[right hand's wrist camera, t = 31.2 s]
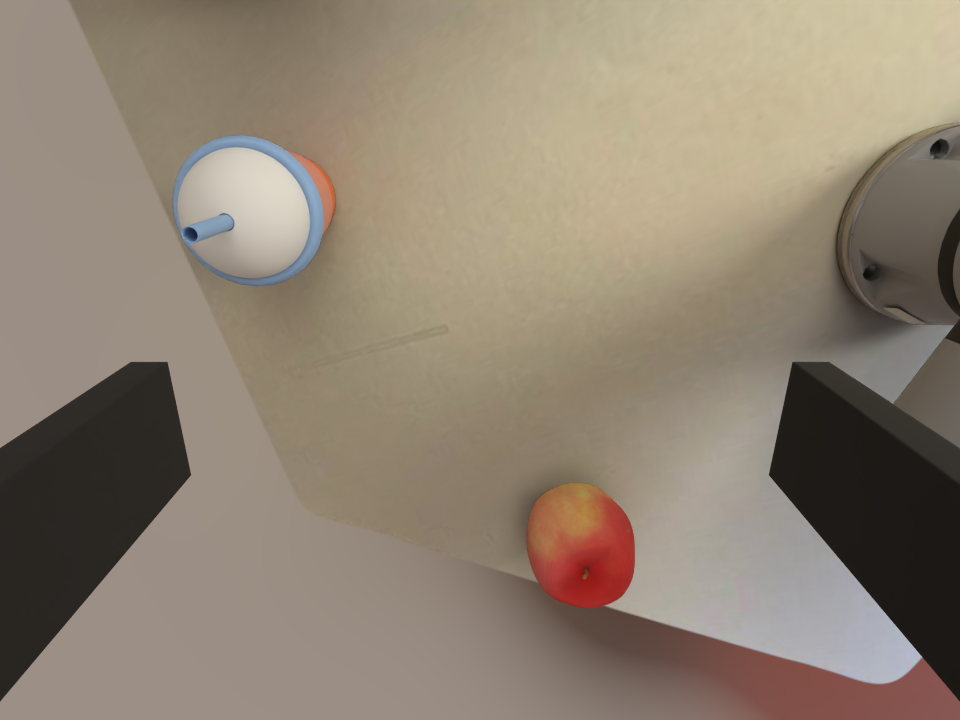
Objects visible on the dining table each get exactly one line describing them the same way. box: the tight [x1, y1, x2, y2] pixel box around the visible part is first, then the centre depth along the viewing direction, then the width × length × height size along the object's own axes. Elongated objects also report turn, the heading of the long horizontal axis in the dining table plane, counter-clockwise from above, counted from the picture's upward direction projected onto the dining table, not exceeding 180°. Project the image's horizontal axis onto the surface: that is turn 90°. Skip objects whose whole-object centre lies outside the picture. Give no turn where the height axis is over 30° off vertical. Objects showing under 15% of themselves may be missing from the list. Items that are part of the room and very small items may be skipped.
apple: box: [527, 483, 635, 608], centre depth 51 cm, size 10×10×10 cm
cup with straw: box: [173, 135, 336, 286], centre depth 37 cm, size 9×9×18 cm
